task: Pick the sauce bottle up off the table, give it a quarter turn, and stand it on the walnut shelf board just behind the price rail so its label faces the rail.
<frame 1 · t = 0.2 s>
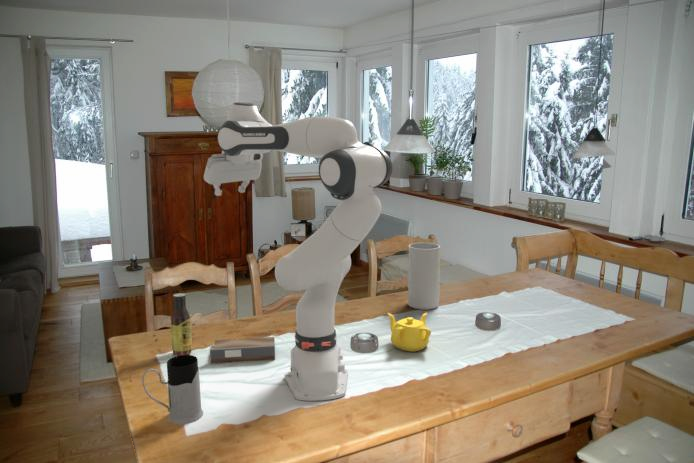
hand: (229, 193, 182), 52 cm above the table, tool tilted 20°, fingers open, 8 cm apart
sauce bottle: (182, 353, 185), on the table
teapot: (409, 345, 190), on the table
shelf board: (244, 351, 186), on the table
cylinder vase: (423, 305, 231), on the table
price rail: (242, 352, 178), on the shelf board, point 3 cm above the table
grey mug: (174, 417, 145), on the table
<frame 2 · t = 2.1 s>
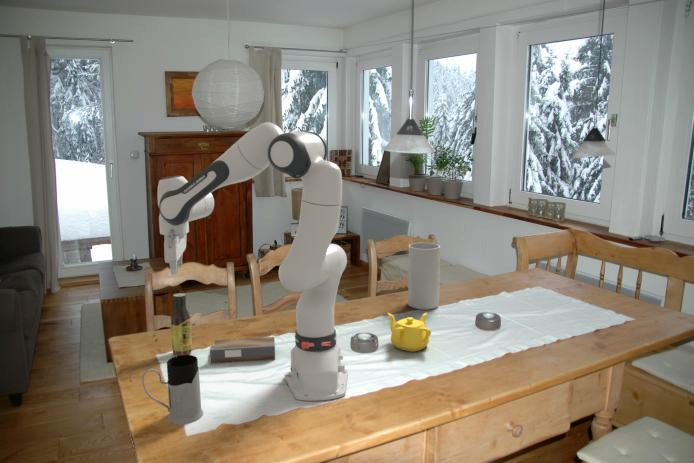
hand: (176, 270, 180), 28 cm above the table, tool pointing down, fingers open, 8 cm apart
nothing on the table moved.
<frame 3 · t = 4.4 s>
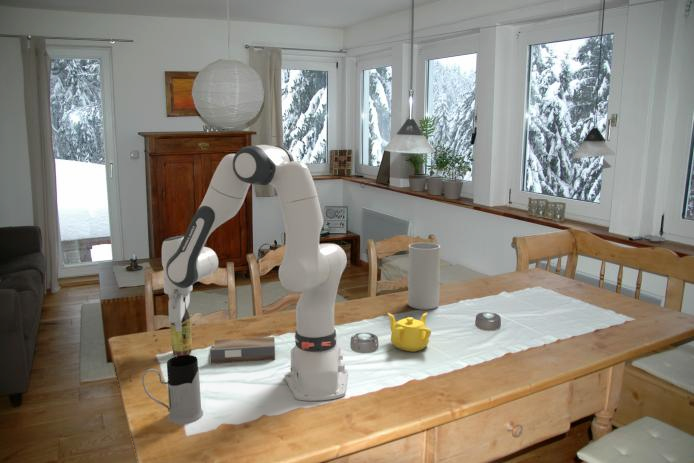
hand: (180, 326, 183), 9 cm above the table, tool pointing down, fingers closed on sauce bottle, 6 cm apart
sauce bottle: (182, 353, 185), on the table, touching gripper
everything else where it was.
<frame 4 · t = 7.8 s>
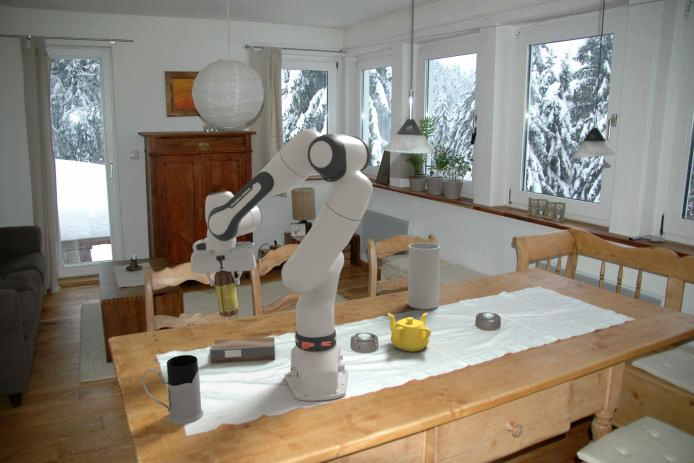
hand: (225, 285, 180), 23 cm above the table, tool pointing down, fingers closed on sauce bottle, 6 cm apart
sauce bottle: (228, 314, 182), point 13 cm above the table, touching gripper
everything else where it was.
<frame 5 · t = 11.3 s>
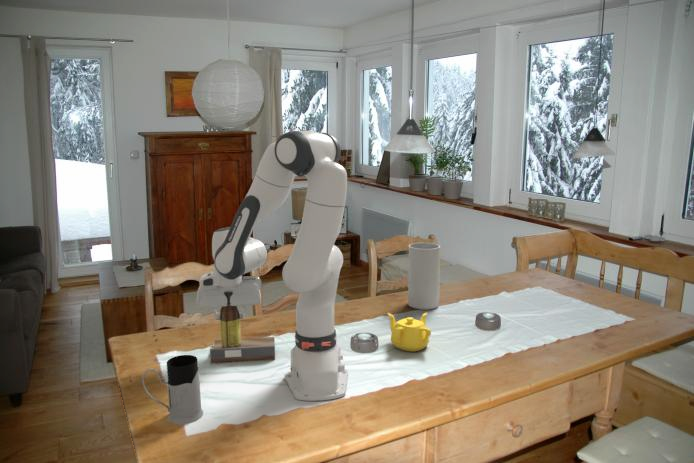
hand: (230, 318, 182), 12 cm above the table, tool pointing down, fingers closed on sauce bottle, 6 cm apart
sauce bottle: (230, 349, 184), point 2 cm above the table, touching gripper
everything else where it was.
when the fingers open (12 cm above the table, at t = 11.3 s): sauce bottle stays where it is, resting on shelf board.
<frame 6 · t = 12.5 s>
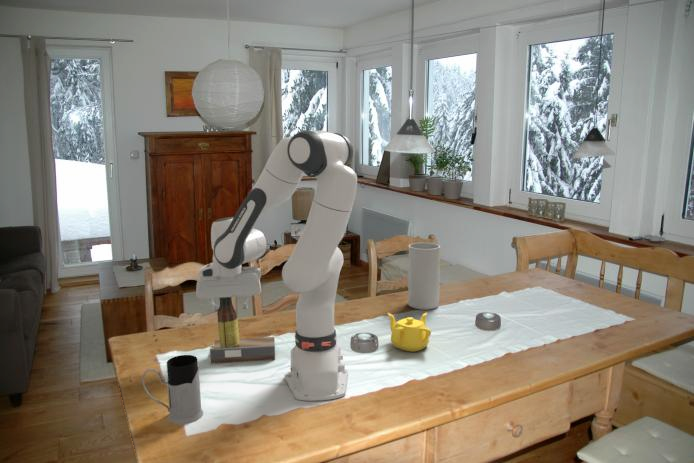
hand: (230, 309, 181), 15 cm above the table, tool pointing down, fingers open, 8 cm apart
sauce bottle: (229, 350, 184), point 1 cm above the table, touching shelf board
everything else where it was.
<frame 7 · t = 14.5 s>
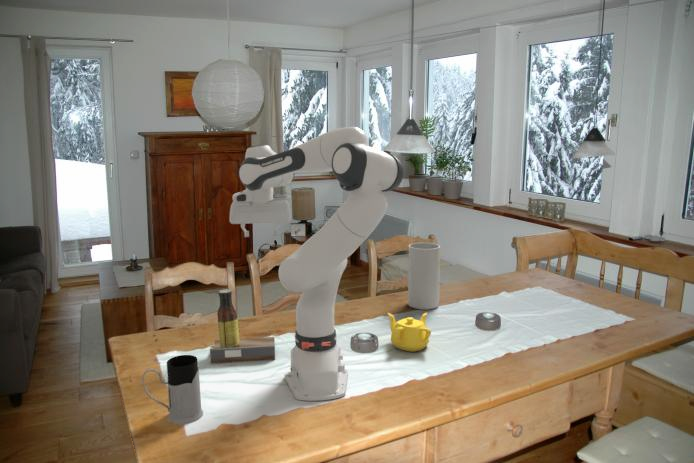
hand: (261, 236, 188), 37 cm above the table, tool pointing down, fingers open, 8 cm apart
nothing on the table moved.
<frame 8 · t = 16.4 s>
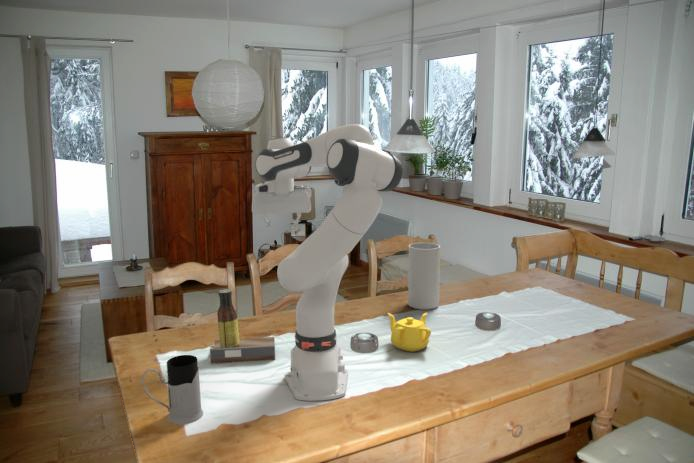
hand: (282, 226, 194), 39 cm above the table, tool pointing down, fingers open, 8 cm apart
nothing on the table moved.
at the end: sauce bottle inside the target area on the shelf board (0.4 cm from its centre), point 1.3 cm above the shelf board's base; sauce bottle tilted 0°; the gripper is holding nothing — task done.
